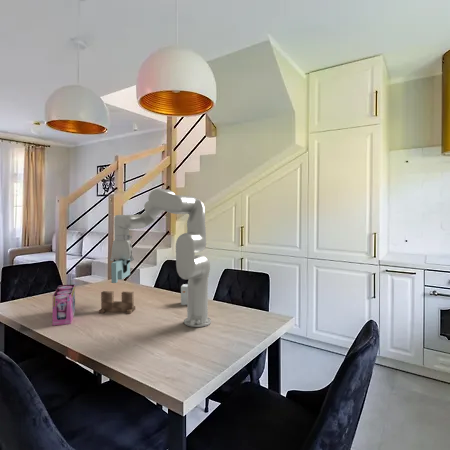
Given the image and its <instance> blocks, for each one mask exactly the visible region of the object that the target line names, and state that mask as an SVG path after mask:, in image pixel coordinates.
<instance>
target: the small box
mask: <svg viewBox="0 0 450 450" xmlns="http://www.w3.org/2000/svg"><path fill="white" fill-rule="evenodd" d="M187 286H188V283H185V284H184V283H183V284H182V285H181V286H180V305H181V306H187Z"/></svg>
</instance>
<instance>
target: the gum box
mask: <svg viewBox="0 0 450 450" xmlns="http://www.w3.org/2000/svg"><path fill="white" fill-rule="evenodd" d="M75 312H76V284H74V283H72V284H61V285H58V286H57V288H56V289H55V291H54V293H53V295H52V326H61V325H71V324H72V322H73V318H74V316H75Z"/></svg>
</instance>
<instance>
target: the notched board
mask: <svg viewBox="0 0 450 450" xmlns="http://www.w3.org/2000/svg"><path fill="white" fill-rule="evenodd" d="M128 260H130V259H128ZM110 265H111V271H110V272H111V274H110V275H111V279H110V280H111V283H112V284H117V283H118V280H120V281H121V280H124V279H125V278H127V277H129V276H131V262H129V263H128V264H127V271H126V272H125V273H123V266H124V259H120V260H117V261H115V262H113V261H112V262H111V264H110Z"/></svg>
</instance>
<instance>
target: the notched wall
mask: <svg viewBox="0 0 450 450" xmlns="http://www.w3.org/2000/svg"><path fill="white" fill-rule="evenodd" d="M100 296H101V297H100V304H101V305H100V306H101V308H100V309H99V310H98V314H105V313H126V315H131V314H132V313H133V312H134V311H135V310H136V305H135V304H134V298H135V297H134V291H122V292H121V301H117V300H114V291H108V290H107V291H104V290H103V291H101V292H100Z"/></svg>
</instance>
